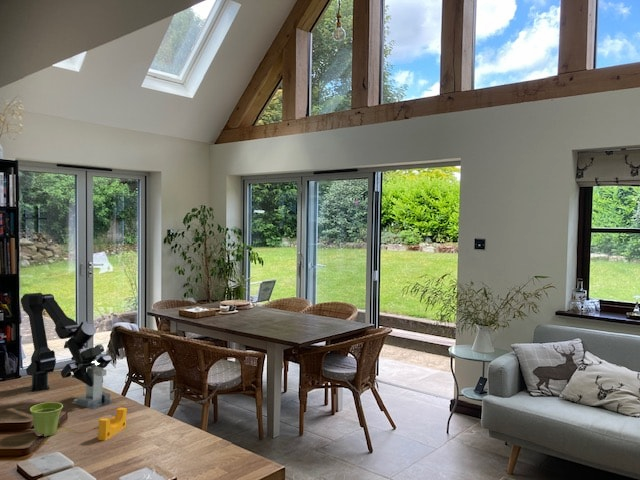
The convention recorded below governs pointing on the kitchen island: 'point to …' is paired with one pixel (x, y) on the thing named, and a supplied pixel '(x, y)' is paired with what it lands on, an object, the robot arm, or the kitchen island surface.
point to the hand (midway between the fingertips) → (96, 384)
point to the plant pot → (46, 417)
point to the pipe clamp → (112, 424)
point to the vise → (89, 402)
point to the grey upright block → (95, 383)
